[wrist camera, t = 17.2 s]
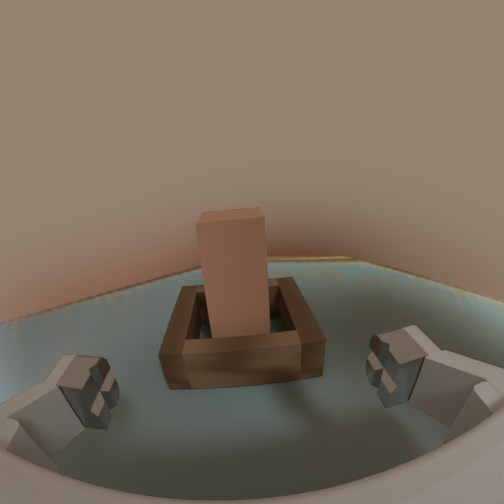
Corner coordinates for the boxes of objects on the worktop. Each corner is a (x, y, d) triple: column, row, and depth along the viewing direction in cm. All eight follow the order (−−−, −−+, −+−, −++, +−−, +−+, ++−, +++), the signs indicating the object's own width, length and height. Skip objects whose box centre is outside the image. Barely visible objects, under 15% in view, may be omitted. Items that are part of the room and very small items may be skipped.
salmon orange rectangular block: (265, 326, 23) (257, 207, 20) (271, 355, 19) (264, 217, 16) (218, 330, 23) (202, 212, 20) (216, 360, 19) (195, 223, 16)
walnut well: (292, 305, 26) (292, 276, 25) (322, 375, 17) (325, 339, 16) (187, 315, 26) (182, 286, 25) (169, 388, 16) (158, 354, 15)
